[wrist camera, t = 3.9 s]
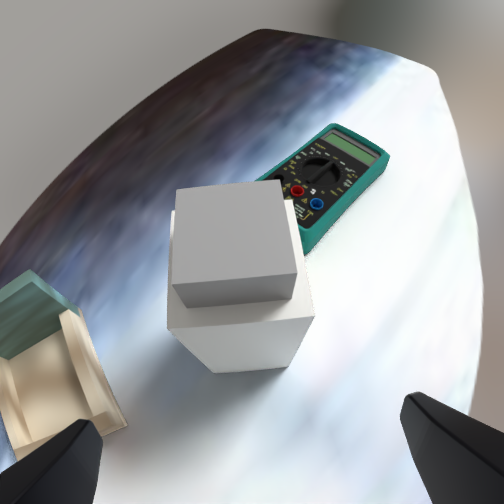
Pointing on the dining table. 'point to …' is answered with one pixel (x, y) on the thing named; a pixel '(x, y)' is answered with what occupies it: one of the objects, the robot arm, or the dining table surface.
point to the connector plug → (237, 276)
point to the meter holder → (48, 367)
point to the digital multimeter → (327, 178)
